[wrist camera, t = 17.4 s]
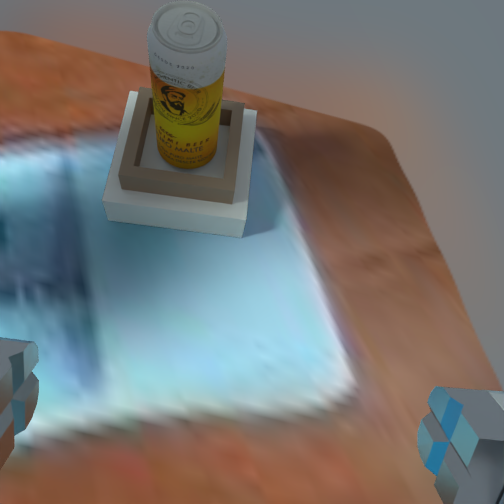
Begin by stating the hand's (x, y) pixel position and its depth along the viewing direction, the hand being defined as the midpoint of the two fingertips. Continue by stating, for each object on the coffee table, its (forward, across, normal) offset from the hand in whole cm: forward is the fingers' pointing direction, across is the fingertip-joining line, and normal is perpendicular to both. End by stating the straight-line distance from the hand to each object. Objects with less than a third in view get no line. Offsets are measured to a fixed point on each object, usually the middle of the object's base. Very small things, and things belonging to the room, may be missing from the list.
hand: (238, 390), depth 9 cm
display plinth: (+43, +5, +4) cm, 43 cm away
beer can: (+40, +5, +1) cm, 41 cm away
